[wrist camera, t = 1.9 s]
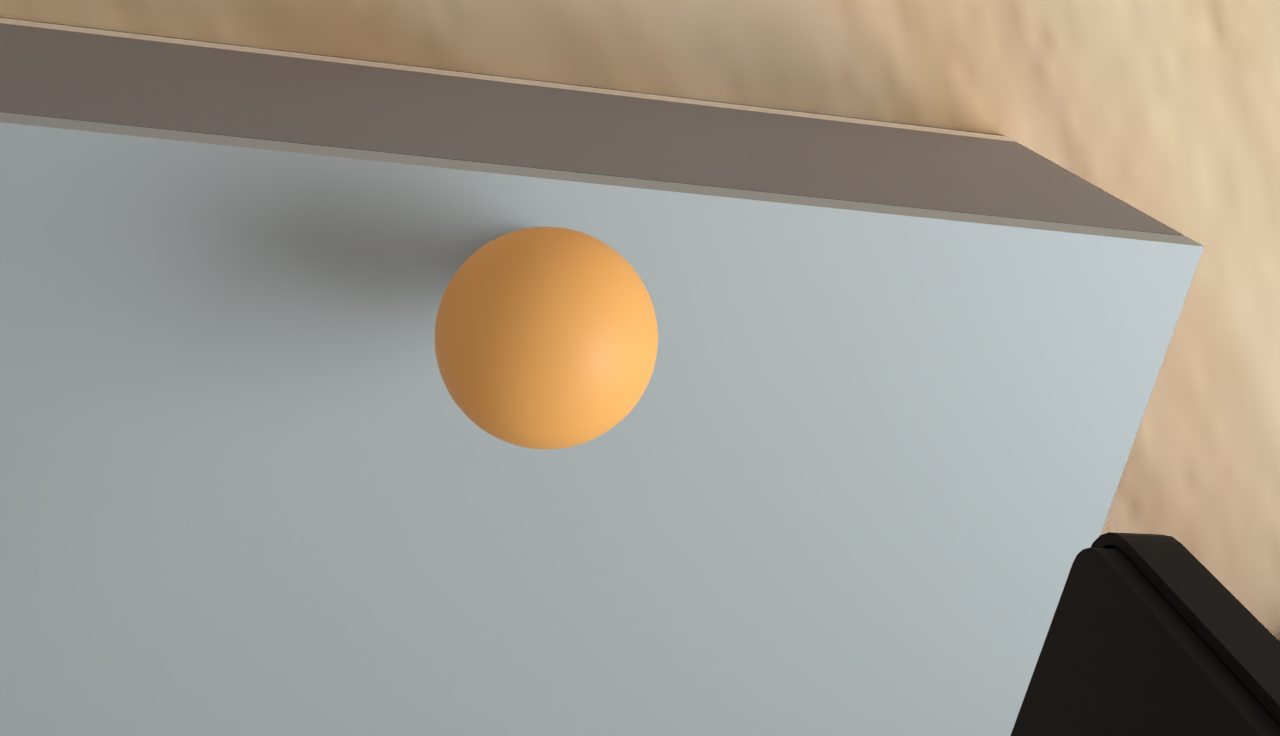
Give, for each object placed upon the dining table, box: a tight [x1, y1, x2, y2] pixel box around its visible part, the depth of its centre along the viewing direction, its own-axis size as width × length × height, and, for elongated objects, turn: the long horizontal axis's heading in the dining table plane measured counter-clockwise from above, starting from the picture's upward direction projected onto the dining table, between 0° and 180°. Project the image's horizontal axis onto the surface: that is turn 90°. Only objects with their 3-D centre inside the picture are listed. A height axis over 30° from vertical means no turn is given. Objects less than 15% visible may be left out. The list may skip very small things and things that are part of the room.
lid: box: [0, 112, 1204, 736], centre depth 19 cm, size 24×13×5 cm, turn 82°
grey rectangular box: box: [0, 18, 1184, 236], centre depth 25 cm, size 24×13×8 cm, turn 82°
